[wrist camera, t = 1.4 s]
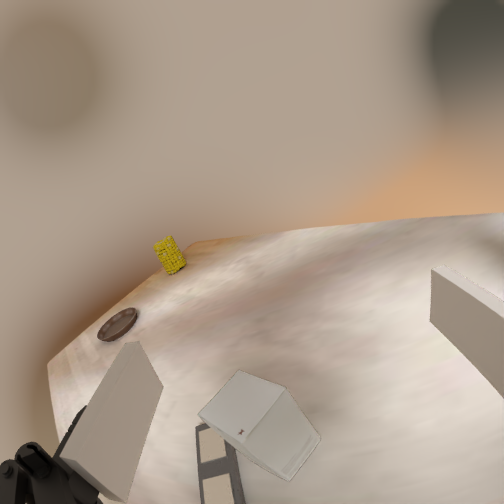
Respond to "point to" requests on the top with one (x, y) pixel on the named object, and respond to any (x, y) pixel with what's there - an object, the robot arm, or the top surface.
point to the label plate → (217, 469)
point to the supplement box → (262, 423)
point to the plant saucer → (117, 325)
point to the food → (169, 255)
